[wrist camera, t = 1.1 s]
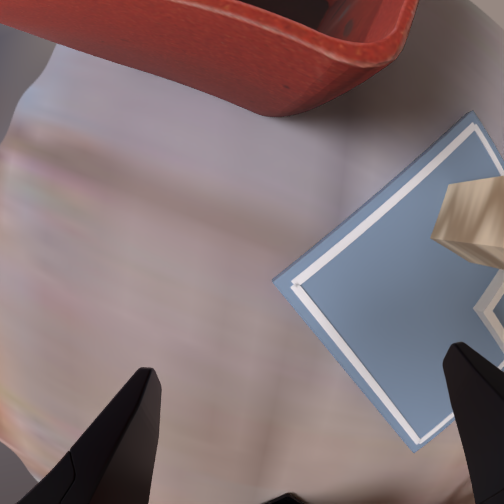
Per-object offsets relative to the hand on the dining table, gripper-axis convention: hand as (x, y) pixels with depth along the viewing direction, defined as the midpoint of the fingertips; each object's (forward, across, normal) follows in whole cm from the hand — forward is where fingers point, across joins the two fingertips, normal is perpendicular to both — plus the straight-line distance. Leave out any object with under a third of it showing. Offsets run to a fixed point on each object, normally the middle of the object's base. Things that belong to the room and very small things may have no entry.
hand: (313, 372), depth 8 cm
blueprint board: (+12, -15, +8) cm, 21 cm away
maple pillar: (+13, -14, +2) cm, 20 cm away
